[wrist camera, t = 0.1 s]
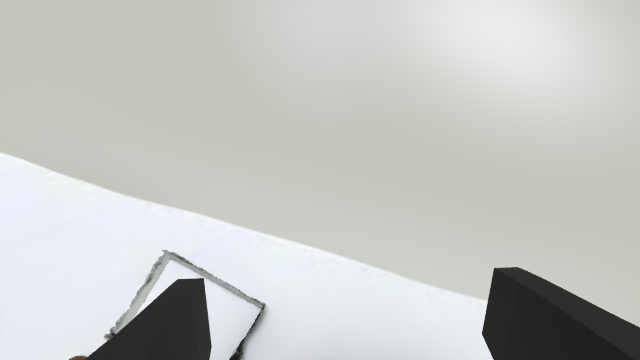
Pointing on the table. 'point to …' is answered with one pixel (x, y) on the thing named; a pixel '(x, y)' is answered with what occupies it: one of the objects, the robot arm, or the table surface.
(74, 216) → the table surface
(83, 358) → the toy figure
